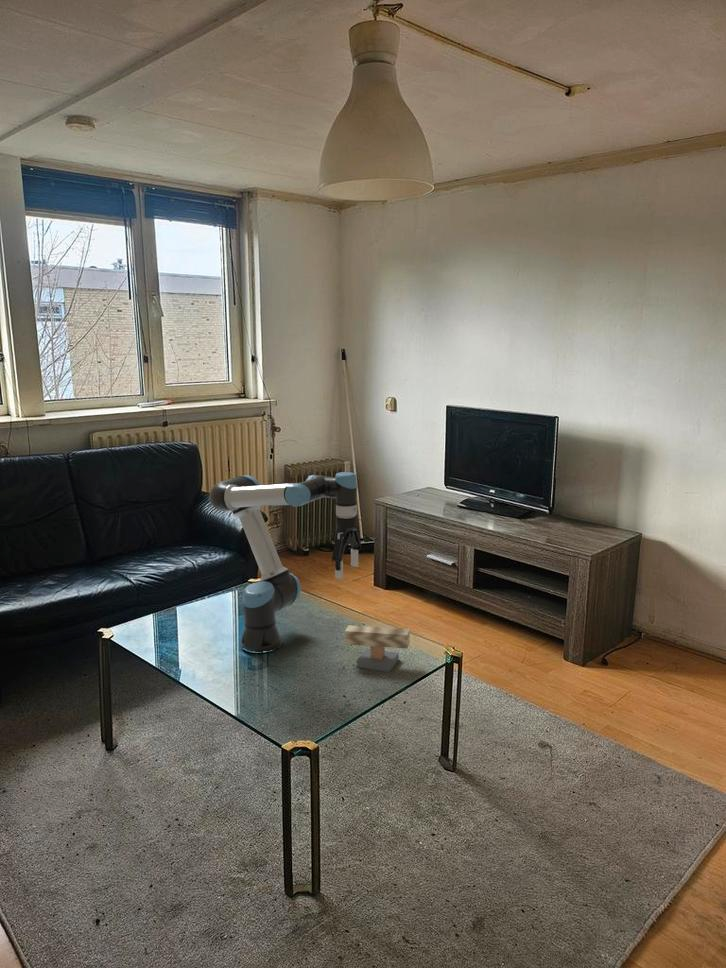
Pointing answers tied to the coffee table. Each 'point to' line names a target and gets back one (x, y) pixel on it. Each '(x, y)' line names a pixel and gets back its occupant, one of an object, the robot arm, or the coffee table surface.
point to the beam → (377, 636)
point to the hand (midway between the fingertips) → (347, 572)
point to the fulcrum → (377, 659)
